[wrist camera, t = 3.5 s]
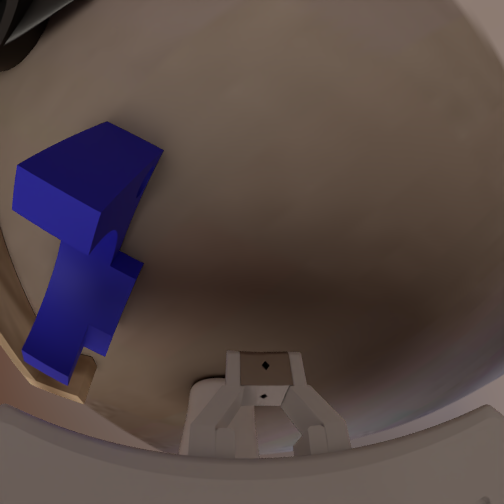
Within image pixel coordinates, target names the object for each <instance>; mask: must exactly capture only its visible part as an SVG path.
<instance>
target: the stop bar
mask: <svg viewBox="0 0 504 504" xmlns="http://www.w3.org/2000/svg"><path fill="white" fill-rule="evenodd" d="M35 319H36V316H35V314H34V312H33V310H32V308H31V306H30V304H29V302H28V300H27V298H26V295H25V293H24V291H23V289H22V286H21V284H20V282H19V279H18V277H17V274H16V272H15V269H14V267H13V264H12V262H11V259H10V256H9V253H8V251H7V248H6V245H5V242H4V239H3V235H2V232H1V229H0V345H1V346H2V348H3V349H4V351H5V352H6V353H7V355H8V356H9V357H10V359H11V360H12V361H13V363H14V364H15V365H16V367H17V368H18V369H19V370H20V372H21V373H22V374H23V375H24V377H25V378H26V379H27V380H28V381H29V382H30V384H31V385H33V386H36V387H38V388H41V389H43V390H46V391H48V392H51V393H54V394H56V395H59V396H61V397H64V398H67V399H70V400H73V401H76V402H79V403H82V404H85V400H86V397H87V394H88V391H89V388H90V385H91V382H92V379H93V376H94V373H95V371H96V368H97V366H96V364H95V362H94V360H93V358H92V357H89V356H85V355H82V354H80V356H79V359H78V361H77V364H76V366H75V369H74V371H73V374H72V376H71V379H70V382H69V384H68V386H67V385H65V384H63V383H61V382H59V381H57V380H55V379H53V378H52V377H50V376H48V375H46V374H44V373H43V372H41V371H39V370H38V369H36V368H34V367H33V366H31V365H29V364H28V363H26V362H25V361H24V359H23V355H22V348H23V346H24V344H25V341H26V339H27V337H28V335H29V333H30V331H31V329H32V326H33V324H34V322H35Z"/></svg>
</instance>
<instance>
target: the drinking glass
mask: <svg viewBox="0 0 504 504" xmlns="http://www.w3.org/2000/svg"><path fill="white" fill-rule="evenodd" d="M222 385H225V378H209V379H204V380H201V381H199V382H197V383H195V384H194V385H193V386H192V388H191V390H190V394H189V402H188V409H187V414H186V419H185V424H184V428H183V433H182V438H181V443H180V447H179V452H178V454H179V455H188V449H189V436H190V424H191V423H192V422H193V421H194V420H195V418H196V417H197V416H198V415H199V414H200V412H201V411H202V410H203V409H204V407H205V406H206V405H207V404H208V402H209V401H210V400H211V399H212V397H213V396H214V395H215V394H216V392H217V391H218V390H219V389H220V387H221V386H222ZM227 428H231V429H232V430H234V431H235V458H259V450H258V441H257V433H256V423H255V413H254V406H241V407H240V409H239V410H238V412H237V413H236V415H235V416H234V418H233V419H232V421H231V422H230V424H229V425H228V427H227Z"/></svg>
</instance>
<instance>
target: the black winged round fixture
mask: <svg viewBox="0 0 504 504" xmlns="http://www.w3.org/2000/svg"><path fill="white" fill-rule="evenodd" d="M73 1H74V0H0V72H1V71H6V70H9V69H11V68H13V67H15V66H16V65H17V64H19V63H20V62H21V61H22V60H23V59H24V58H25V57H26V56H27V55H28V54H29V53H30V52H31V50H32V49H33V48H34V46H35V45H36V43H37V42H38V40H39V39H40V37H41V35H42V33H43V31H44V29H45V27H46V25H47V23H48V21H49V18H50V17H51V16H52V15H54V14H55V13H56V12H58V11H59V10H61V9H62V8H64V7H65V6H67V5H68V4H70V3H71V2H73Z"/></svg>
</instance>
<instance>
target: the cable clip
mask: <svg viewBox="0 0 504 504" xmlns="http://www.w3.org/2000/svg"><path fill="white" fill-rule="evenodd" d="M163 151H164V150H162V149H160V148H159V147H157V146H155V145H153V144H151V143H149V142H147V141H145V140H143V139H141V138H139V137H137V136H135V135H133V134H131V133H129V132H127V131H125V130H123V129H121V128H119V127H117V126H115V125H113V124H111V123H109V122H104V123H102V124H99V125H97V126H94V127H92V128H89V129H87V130H85V131H82V132H80V133H78V134H76V135H73V136H71V137H69V138H67V139H65V140H63V141H61V142H59V143H57V144H55V145H53V146H51V147H49V148H47V149H45V150H43V151H41V152H39V153H37V154H35V155H34V156H32V157H30V158H28V159H27V160H25V161H23V162H21V163H20V164H18V165H17V170H16V177H15V184H14V193H13V204H12V210H14V211H15V212H17V213H18V214H20V215H21V216H23V217H24V218H26V219H27V220H29V221H31V222H32V223H34V224H35V225H37V226H39V227H40V228H42V229H43V230H45V231H47V232H48V233H50V234H52V235H53V236H55V237H57V238H58V239H60V240H61V243H60V248H59V252H58V256H57V260H56V263H55V267H54V270H53V273H52V276H51V280H50V282H49V285H48V288H47V291H46V294H45V297H44V299H43V302H42V305H41V307H40V310H39V312H38V314H37V317H36V319H35V322H34V324H33V326H32V329H31V331H30V333H29V335H28V337H27V339H26V341H25V344H24V346H23V348H22V355H23V359H24V361H25V362H26V363H28V364H29V365H31V366H33V367H34V368H36V369H38V370H39V371H41V372H43V373H44V374H46V375H48V376H50V377H52V378H53V379H55V380H57V381H59V382H61V383H63V384H65V385H67V386H68V384H69V382H70V379H71V376H72V374H73V371H74V369H75V366H76V364H77V361H78V359H79V356H80V354H81V351H82V349H83V347H86V348H88V349H90V350H92V351H94V352H96V353H98V354H100V355H103V356H106V353H107V350H108V348H109V345H110V342H111V340H112V337H113V334H114V332H115V329H116V327H117V324H118V322H119V319H120V317H121V314H122V312H123V309H124V307H125V305H126V302H127V300H128V298H129V295H130V293H131V291H132V288H133V286H134V284H135V281H136V279H137V277H138V275H139V273H140V270H141V268H142V266H143V264H144V263H142V262H140V261H138V260H136V259H134V258H132V257H130V256H128V255H127V254H125V253H123V252H121V251H119V250H120V247H121V245H122V242H123V239H124V237H125V234H126V232H127V229H128V227H129V224H130V222H131V220H132V217H133V215H134V212H135V210H136V208H137V205H138V203H139V201H140V199H141V196H142V194H143V192H144V190H145V188H146V185H147V183H148V181H149V179H150V177H151V175H152V173H153V171H154V169H155V167H156V165H157V163H158V161H159V159H160V157H161V155H162V153H163Z"/></svg>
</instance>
